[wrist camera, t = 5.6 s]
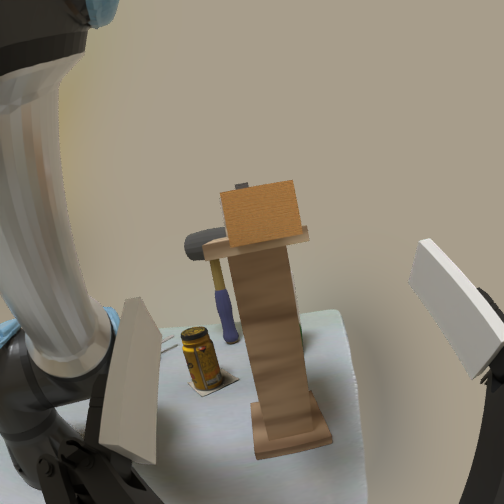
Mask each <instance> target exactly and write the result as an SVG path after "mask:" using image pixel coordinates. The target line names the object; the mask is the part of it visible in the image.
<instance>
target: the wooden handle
mask: <svg viewBox="0 0 504 504" xmlns="http://www.w3.org/2000/svg"><path fill="white" fill-rule="evenodd" d="M235 189H236V190H232V191H227V192H222V193H220V196H221V197H220V198H219V199H220V205H221V209H222V215H223V220H224V226H225V231H226V236H227V238H229V243H230V248H233V247H238V246H243V245H248V244H253V243H258V242H263V241H269V240H274V239H279V238H284V237H289V236H295V235H300V234H303V231H302V225H301V220H300V215H299V209H298V204H297V200H296V194H295V189H294V184H293V180H289V181H283V182H277V183H271V184H265V185H259V186H254V187H248V183H242V184H236V185H235Z"/></svg>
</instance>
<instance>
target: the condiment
mask: <svg viewBox="0 0 504 504" xmlns="http://www.w3.org/2000/svg"><path fill="white" fill-rule="evenodd" d="M181 339H182V343H183V348H182V349H183V353H184V356H185V359H186V362H187V366H188V369H189V372H190V375H191V378H192V382H189V383H188V384H189V385H190V386H191V387H192V388H193V389H194V390H195V391H196V392H198V393H199V394H200V395H201V396H205V395H207V394H210V393H212V392H214V391H217V390H219V389H220V388H222V387H224V386H226V385H228V384H231V383H233V382H234V381H236V380H238V379H239V378H236V377H235V376H233V375H231V374H230V373H228V372H227V371H225V370H223V369H222V368H221V369H220V367H219V364H218V360H217V356H216V353H215V349H214V345H213V342H212V340H211V339H210V336H209V334H208V330H207V329H206V328H205V327H192V328H189V329H186V330H184V331H183V332H182V333H181Z"/></svg>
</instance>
